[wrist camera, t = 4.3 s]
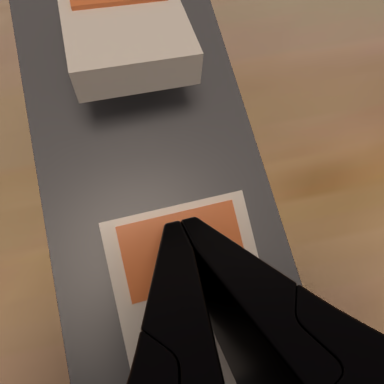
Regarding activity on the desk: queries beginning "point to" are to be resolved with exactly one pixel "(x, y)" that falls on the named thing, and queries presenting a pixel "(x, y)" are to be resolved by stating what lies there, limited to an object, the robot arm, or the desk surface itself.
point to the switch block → (130, 172)
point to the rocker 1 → (128, 47)
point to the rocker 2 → (148, 249)
